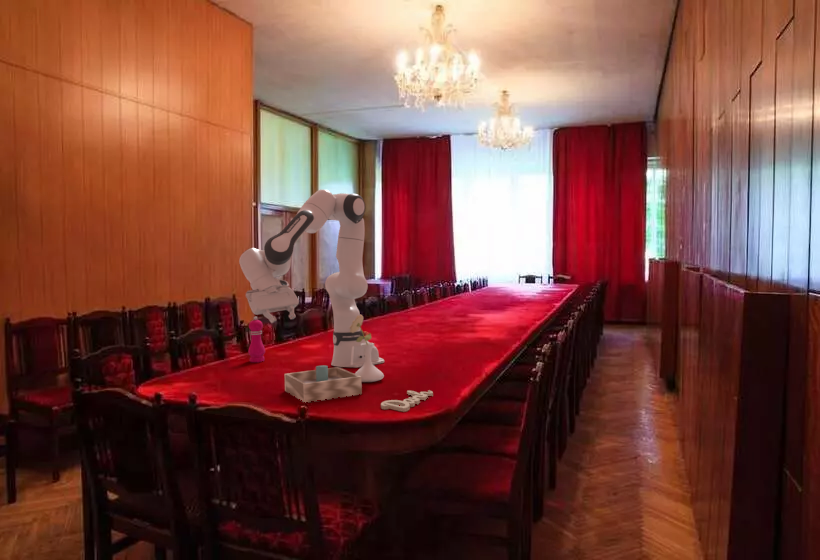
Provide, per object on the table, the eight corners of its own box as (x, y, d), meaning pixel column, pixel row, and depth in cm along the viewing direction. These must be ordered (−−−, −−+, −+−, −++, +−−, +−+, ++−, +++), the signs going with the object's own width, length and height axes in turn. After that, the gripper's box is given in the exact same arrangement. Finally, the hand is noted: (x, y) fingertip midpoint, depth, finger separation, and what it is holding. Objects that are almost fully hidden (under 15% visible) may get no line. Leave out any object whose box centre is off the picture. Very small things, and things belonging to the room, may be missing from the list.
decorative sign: (405, 408, 182) (376, 405, 186) (405, 413, 182) (376, 410, 186) (437, 391, 202) (411, 388, 207) (438, 395, 202) (411, 393, 207)
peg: (325, 390, 212) (325, 364, 211) (330, 393, 208) (329, 366, 208) (314, 392, 210) (314, 366, 209) (319, 394, 206) (318, 368, 206)
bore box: (338, 383, 223) (337, 367, 222) (361, 394, 205) (361, 376, 205) (285, 391, 213) (284, 373, 212) (304, 402, 195) (304, 384, 195)
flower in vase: (370, 376, 233) (368, 311, 232) (390, 380, 225) (388, 312, 224) (343, 382, 224) (341, 314, 223) (363, 386, 216) (361, 316, 215)
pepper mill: (261, 362, 268) (259, 317, 267) (245, 362, 269) (244, 317, 268) (268, 359, 275) (266, 315, 274) (253, 359, 277) (251, 315, 276)
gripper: (248, 286, 212) (266, 319, 208) (290, 281, 229) (308, 311, 225) (239, 296, 215) (257, 329, 211) (281, 290, 232) (299, 320, 228)
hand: (283, 320), depth 218 cm, fingers open, 8 cm apart
